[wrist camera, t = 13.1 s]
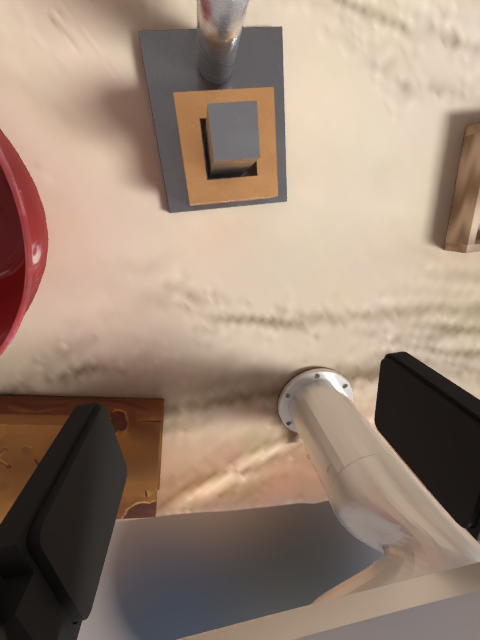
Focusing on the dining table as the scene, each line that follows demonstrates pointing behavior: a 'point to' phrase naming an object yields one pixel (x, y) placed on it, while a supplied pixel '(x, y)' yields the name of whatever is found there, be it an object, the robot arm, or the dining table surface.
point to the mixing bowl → (18, 241)
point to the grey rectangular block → (231, 138)
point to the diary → (46, 422)
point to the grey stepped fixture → (216, 87)
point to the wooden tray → (466, 197)
